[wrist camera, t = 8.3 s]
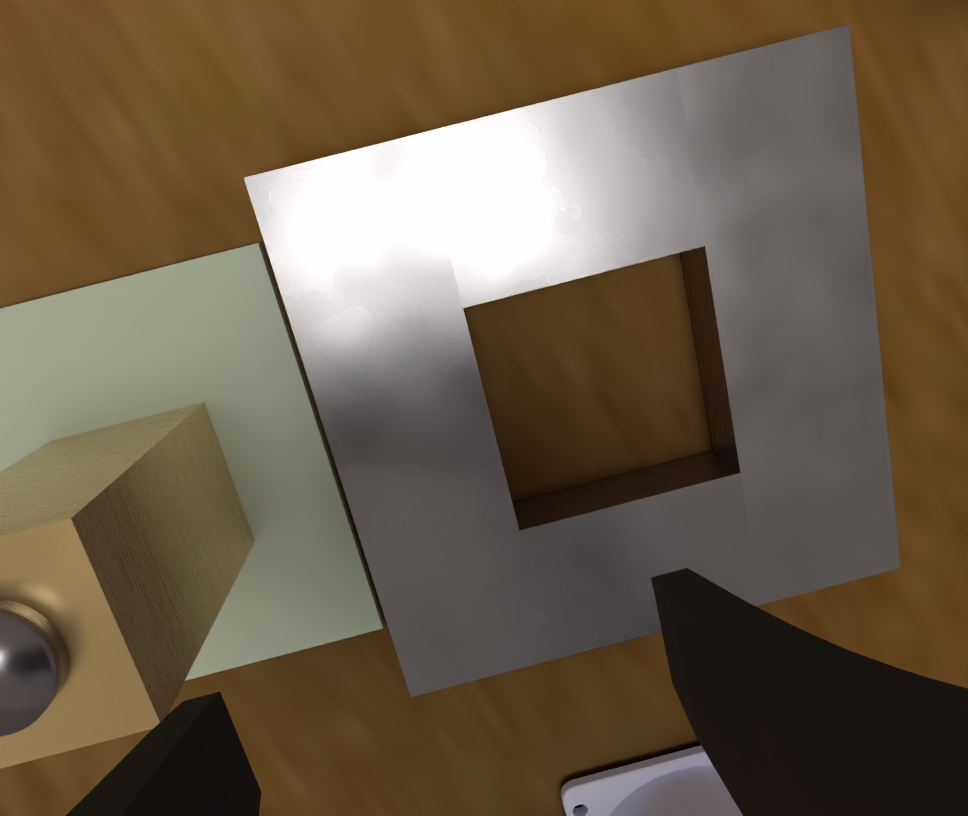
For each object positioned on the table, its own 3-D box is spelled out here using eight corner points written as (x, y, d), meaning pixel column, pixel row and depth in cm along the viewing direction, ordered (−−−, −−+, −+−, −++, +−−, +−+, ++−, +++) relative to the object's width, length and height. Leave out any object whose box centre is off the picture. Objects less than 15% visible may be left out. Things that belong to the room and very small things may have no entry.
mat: (383, 621, 23) (383, 628, 23) (73, 703, 23) (67, 711, 22) (261, 242, 20) (258, 243, 19) (-102, 334, 20) (-112, 337, 19)
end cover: (255, 541, 21) (150, 749, 13) (109, 579, 21) (-89, 811, 13) (204, 401, 20) (53, 533, 12) (49, 441, 20) (-210, 600, 12)
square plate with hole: (861, 538, 24) (900, 567, 22) (411, 657, 23) (410, 697, 21) (806, 42, 19) (849, 24, 18) (261, 181, 19) (244, 177, 17)
